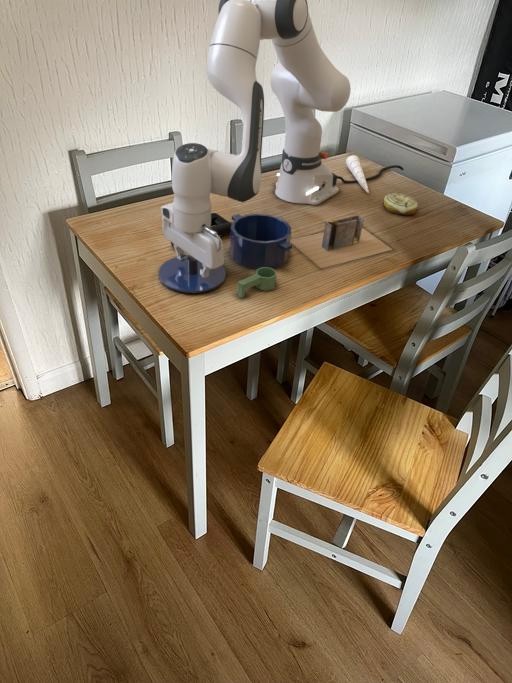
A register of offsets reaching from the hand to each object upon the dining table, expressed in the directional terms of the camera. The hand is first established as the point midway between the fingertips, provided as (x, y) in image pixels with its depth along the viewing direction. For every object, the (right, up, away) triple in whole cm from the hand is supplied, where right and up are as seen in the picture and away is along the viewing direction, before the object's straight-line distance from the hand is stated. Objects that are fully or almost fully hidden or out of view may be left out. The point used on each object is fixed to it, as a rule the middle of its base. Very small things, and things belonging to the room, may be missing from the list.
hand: (192, 267), depth 134 cm
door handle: (-2, +13, +20) cm, 24 cm away
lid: (0, -1, +1) cm, 2 cm away
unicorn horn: (+52, +39, +56) cm, 86 cm away
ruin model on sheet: (+40, +9, +19) cm, 45 cm away
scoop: (+16, -5, -1) cm, 17 cm away
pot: (+17, +5, +12) cm, 21 cm away
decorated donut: (+62, +24, +40) cm, 77 cm away
